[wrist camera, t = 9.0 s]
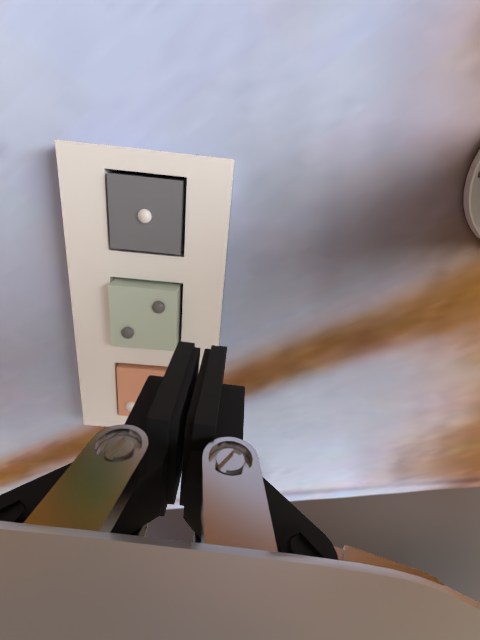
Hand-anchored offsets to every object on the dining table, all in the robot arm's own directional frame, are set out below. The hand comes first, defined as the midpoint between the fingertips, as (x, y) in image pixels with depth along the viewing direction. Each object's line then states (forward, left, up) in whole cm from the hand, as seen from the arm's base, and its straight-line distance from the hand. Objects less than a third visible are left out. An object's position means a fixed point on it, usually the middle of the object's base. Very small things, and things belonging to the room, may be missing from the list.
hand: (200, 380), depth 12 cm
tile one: (+7, -3, -22) cm, 23 cm away
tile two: (+7, +6, -21) cm, 23 cm away
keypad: (+7, +6, -23) cm, 25 cm away
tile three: (+7, +15, -22) cm, 28 cm away
